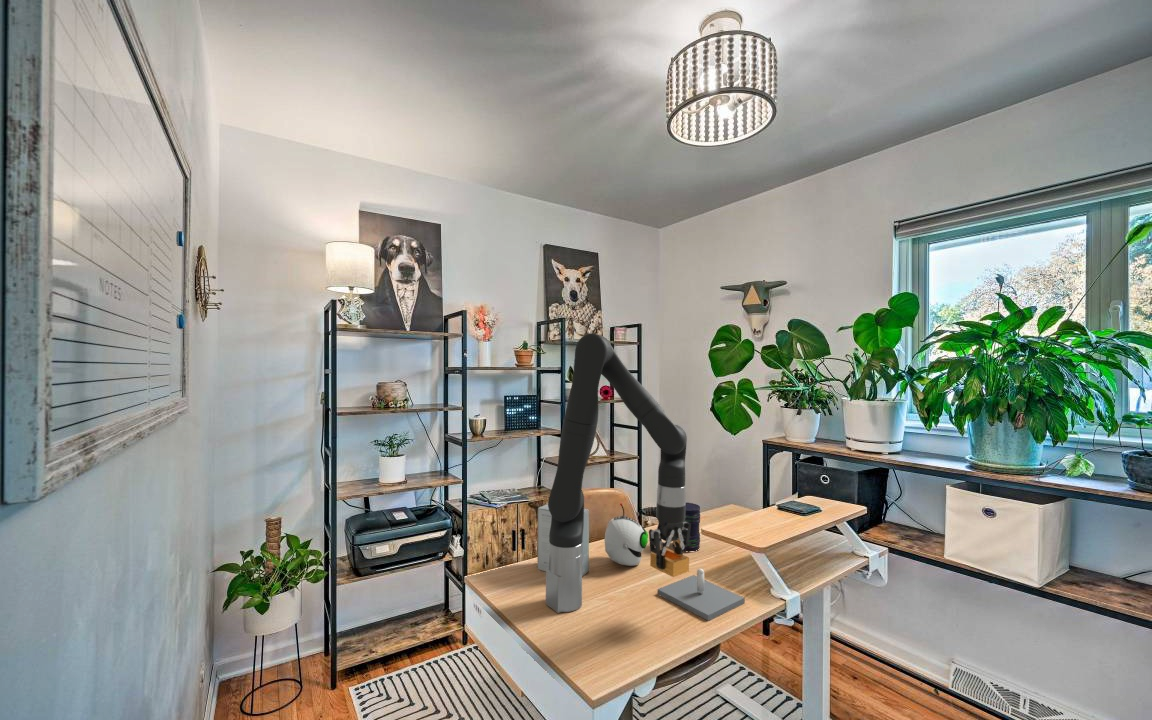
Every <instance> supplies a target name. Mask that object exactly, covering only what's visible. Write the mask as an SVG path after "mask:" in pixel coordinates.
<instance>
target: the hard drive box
mask: <svg viewBox="0 0 1152 720" xmlns="http://www.w3.org/2000/svg"><path fill="white" fill-rule="evenodd" d="M589 515H590V510H589V509H588V508H584V528H583V542H582V577H584V576H585V575H586V574H587V573H589V571H590V550H589V549H590V547H589V546H590V541H589V540H590V526H589V525H590V520H589V519H590V516H589ZM551 519H552V515H551V513H550V511H549V508H548V503H545V504H544V505H541V506H539V507H537V561H536V562H537V563H536V565H537V567H536V568H537V570H540V571H543V572H546V570H547V569H549V533H550V527H551Z"/></svg>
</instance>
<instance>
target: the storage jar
mask: <svg viewBox="0 0 1152 720" xmlns="http://www.w3.org/2000/svg"><path fill="white" fill-rule="evenodd" d="M685 522H688V523H690V524H691V530H690V539H689V545H688V546H685V547H684V549H683V551H696V550H698V549H699V548H700V547H701V546H700V545H701V544H700V543H701V532H700V524H701V506H700V505H699V504H697V503H694V502H686V510H685ZM684 540H685V536H684ZM673 547H674V548H676V547H675V545H674V542H673V541H672V548H673ZM674 548H673V549H674ZM699 550H700V549H699ZM699 550H698V551H699ZM696 552H697V551H696Z"/></svg>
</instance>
